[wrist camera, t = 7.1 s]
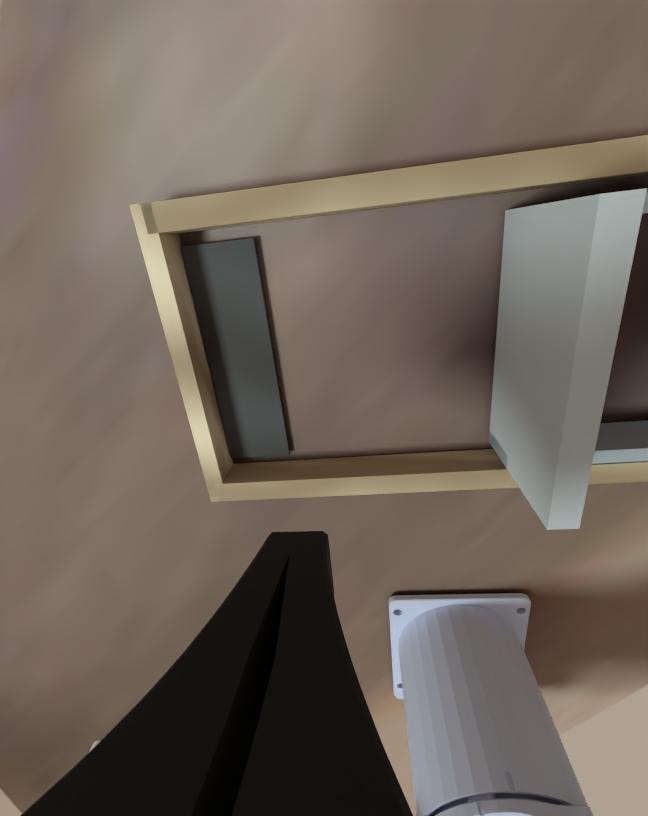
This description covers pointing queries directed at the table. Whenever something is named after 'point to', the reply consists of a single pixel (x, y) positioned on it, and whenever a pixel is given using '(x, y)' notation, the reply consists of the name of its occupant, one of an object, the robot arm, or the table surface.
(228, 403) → the channel
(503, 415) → the tray
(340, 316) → the table surface
